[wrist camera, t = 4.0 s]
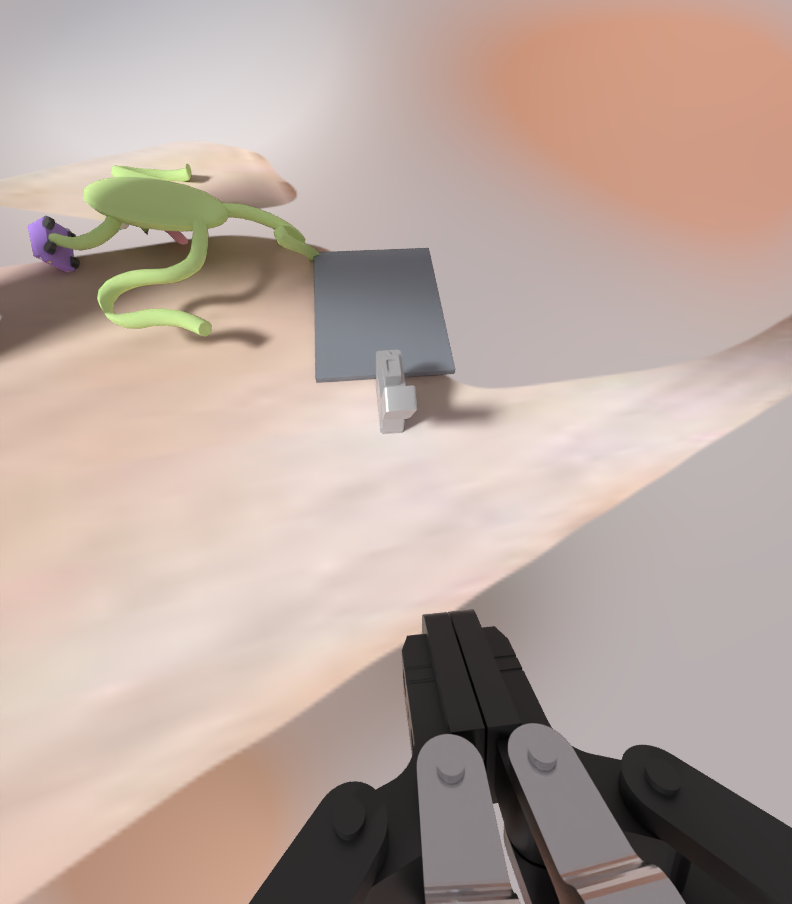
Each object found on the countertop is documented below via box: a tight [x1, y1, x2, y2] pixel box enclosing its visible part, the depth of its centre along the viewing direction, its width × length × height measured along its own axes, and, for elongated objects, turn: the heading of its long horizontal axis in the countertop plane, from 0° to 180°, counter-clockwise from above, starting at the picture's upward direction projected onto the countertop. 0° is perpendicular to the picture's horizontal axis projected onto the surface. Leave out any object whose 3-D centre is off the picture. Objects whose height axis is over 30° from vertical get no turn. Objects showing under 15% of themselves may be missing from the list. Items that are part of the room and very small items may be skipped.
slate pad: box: [314, 248, 455, 382], centre depth 35 cm, size 11×15×1 cm
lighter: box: [376, 350, 417, 434], centre depth 26 cm, size 7×2×8 cm, turn 6°
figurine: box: [28, 164, 320, 337], centre depth 36 cm, size 18×27×6 cm
